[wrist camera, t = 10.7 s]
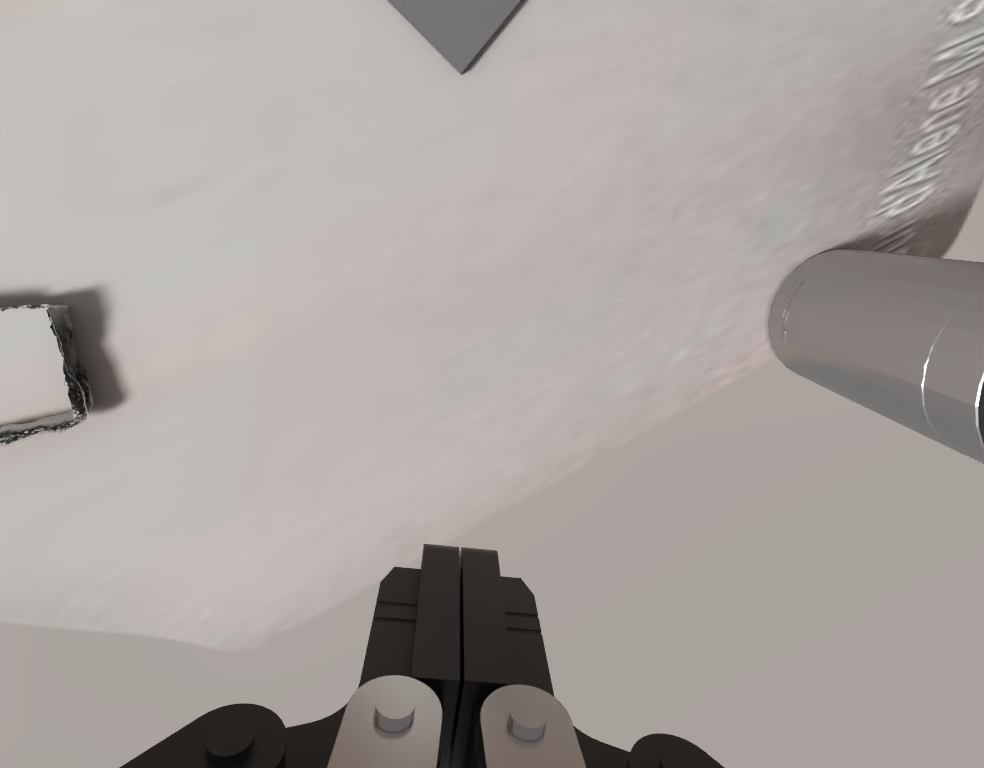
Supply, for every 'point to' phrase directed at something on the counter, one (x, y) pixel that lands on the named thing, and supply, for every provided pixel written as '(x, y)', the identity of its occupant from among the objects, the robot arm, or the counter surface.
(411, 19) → the rubber mat
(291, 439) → the counter surface
